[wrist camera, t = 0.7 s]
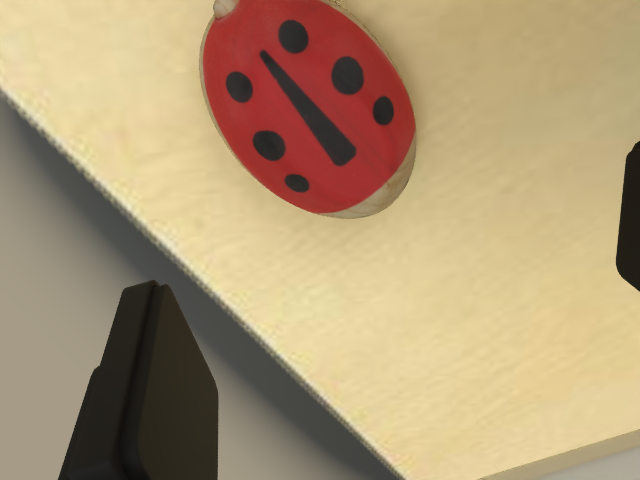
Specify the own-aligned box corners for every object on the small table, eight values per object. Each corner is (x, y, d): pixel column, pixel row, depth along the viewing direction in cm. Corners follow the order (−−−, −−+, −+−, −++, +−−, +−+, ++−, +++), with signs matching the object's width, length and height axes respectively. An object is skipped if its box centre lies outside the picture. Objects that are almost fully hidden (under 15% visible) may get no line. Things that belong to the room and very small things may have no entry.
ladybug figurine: (327, 236, 22) (344, 280, 19) (147, 72, 18) (132, 97, 15) (445, 133, 21) (484, 163, 18) (282, -76, 16) (296, -83, 13)
